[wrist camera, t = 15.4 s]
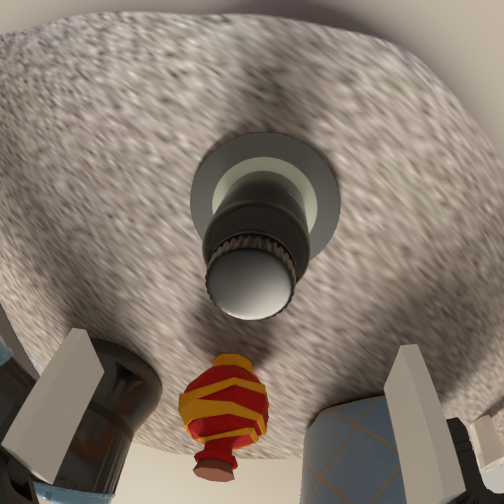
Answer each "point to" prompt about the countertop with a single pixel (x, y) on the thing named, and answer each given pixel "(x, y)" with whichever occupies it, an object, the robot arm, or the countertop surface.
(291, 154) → the plate
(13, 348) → the bowl mat frame
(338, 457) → the planter
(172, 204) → the countertop surface
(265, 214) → the supplement bottle
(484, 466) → the cup
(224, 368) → the potion bottle
